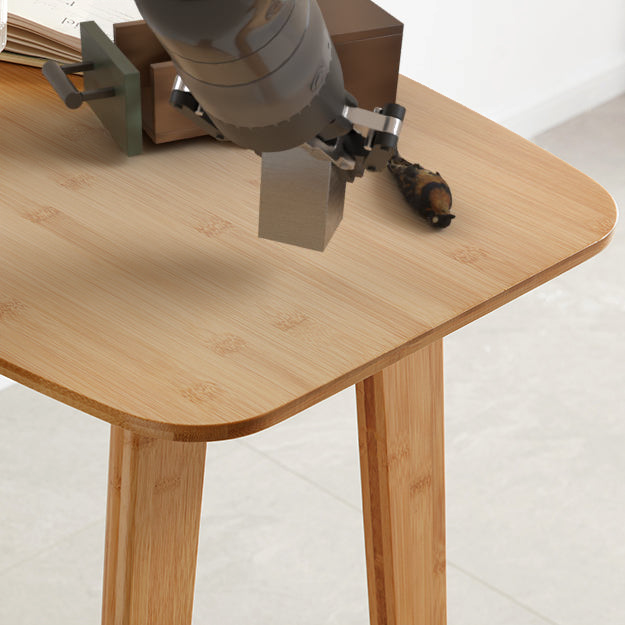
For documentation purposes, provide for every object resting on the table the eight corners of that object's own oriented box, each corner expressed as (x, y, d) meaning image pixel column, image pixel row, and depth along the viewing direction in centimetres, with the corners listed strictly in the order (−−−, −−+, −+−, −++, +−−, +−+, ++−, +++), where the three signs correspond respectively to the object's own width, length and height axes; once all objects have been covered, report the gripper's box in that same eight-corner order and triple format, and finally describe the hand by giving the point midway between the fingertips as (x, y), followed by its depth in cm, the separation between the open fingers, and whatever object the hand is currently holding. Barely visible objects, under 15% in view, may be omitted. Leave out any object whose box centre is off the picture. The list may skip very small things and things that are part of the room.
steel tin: (323, 253, 72) (333, 140, 67) (256, 237, 72) (261, 125, 68) (343, 218, 75) (354, 109, 70) (279, 204, 76) (286, 95, 71)
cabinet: (247, 149, 90) (249, 47, 85) (191, 89, 98) (190, -7, 93) (393, 121, 96) (404, 23, 90) (329, 66, 104) (335, -26, 99)
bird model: (424, 243, 80) (428, 211, 79) (371, 153, 91) (374, 123, 89) (466, 239, 81) (471, 207, 80) (409, 150, 92) (412, 120, 90)
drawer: (78, 166, 85) (72, 82, 81) (38, 108, 92) (30, 28, 88) (275, 130, 91) (279, 50, 87) (223, 78, 98) (224, 2, 94)
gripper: (413, 8, 55) (436, 126, 72) (144, -40, 58) (226, 84, 75) (375, 153, 54) (407, 239, 71) (103, 96, 57) (195, 191, 74)
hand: (313, 159), depth 73 cm, fingers closed on steel tin, 4 cm apart
